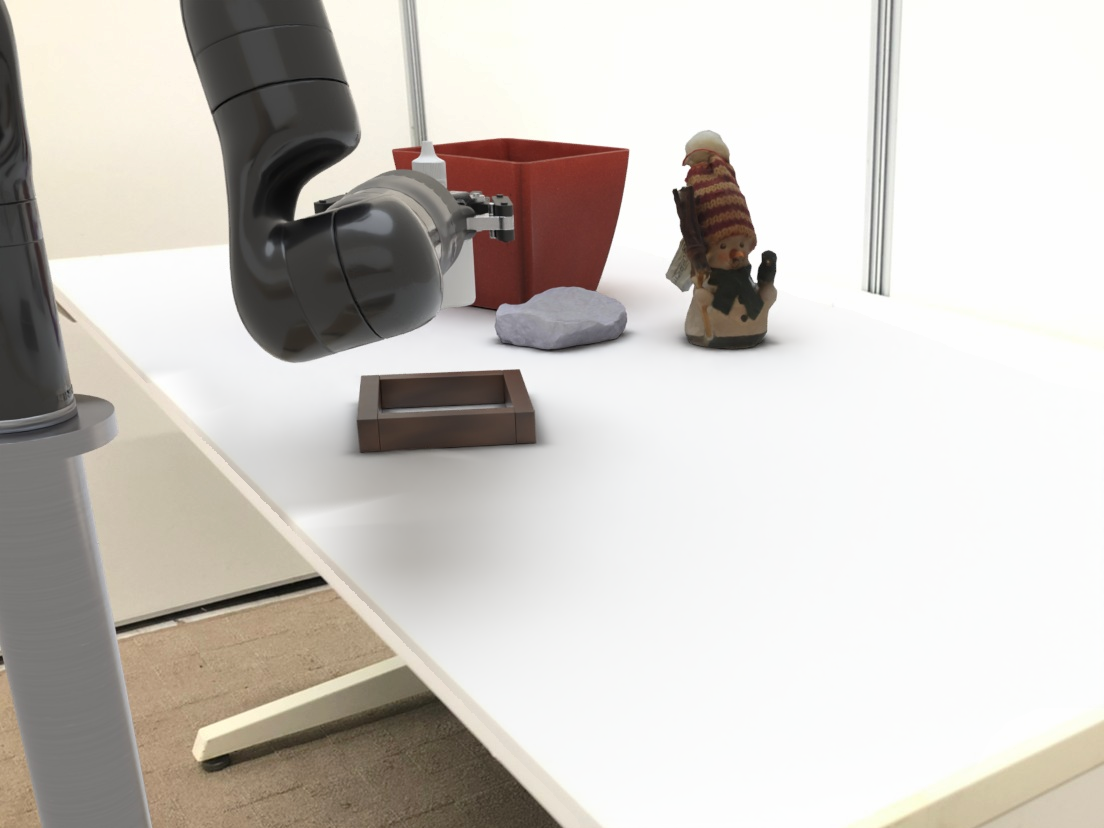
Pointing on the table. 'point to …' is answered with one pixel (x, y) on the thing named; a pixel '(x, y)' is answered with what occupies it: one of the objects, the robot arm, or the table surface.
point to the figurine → (719, 252)
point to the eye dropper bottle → (462, 271)
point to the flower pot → (537, 211)
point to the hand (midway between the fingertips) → (436, 204)
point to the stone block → (561, 319)
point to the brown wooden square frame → (445, 424)
